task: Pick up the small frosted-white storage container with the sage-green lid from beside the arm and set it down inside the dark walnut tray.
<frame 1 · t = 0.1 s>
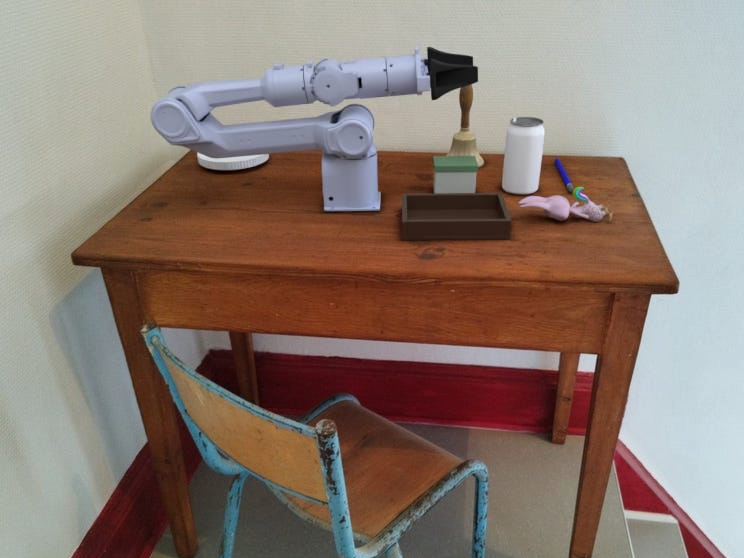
hand: (475, 68, 102), 22 cm above the table, tool horizontal, fingers open, 7 cm apart
rabbit figure: (563, 221, 107), on the table
plastic lid: (234, 164, 133), on the table
container: (453, 194, 117), on the table
pencil: (562, 177, 124), on the table
tray: (453, 224, 106), on the table
hand bell: (462, 163, 131), on the table
can: (519, 190, 119), on the table
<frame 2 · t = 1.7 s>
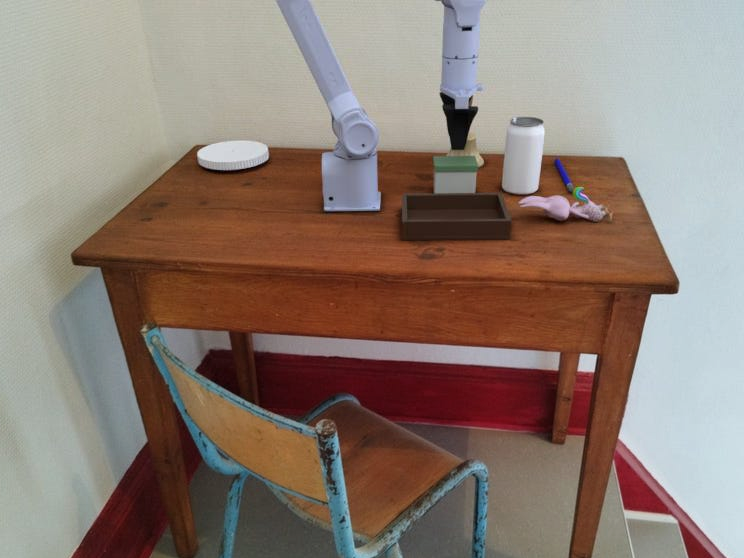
hand: (456, 142, 112), 9 cm above the table, tool pointing down, fingers open, 7 cm apart
nothing on the table moved.
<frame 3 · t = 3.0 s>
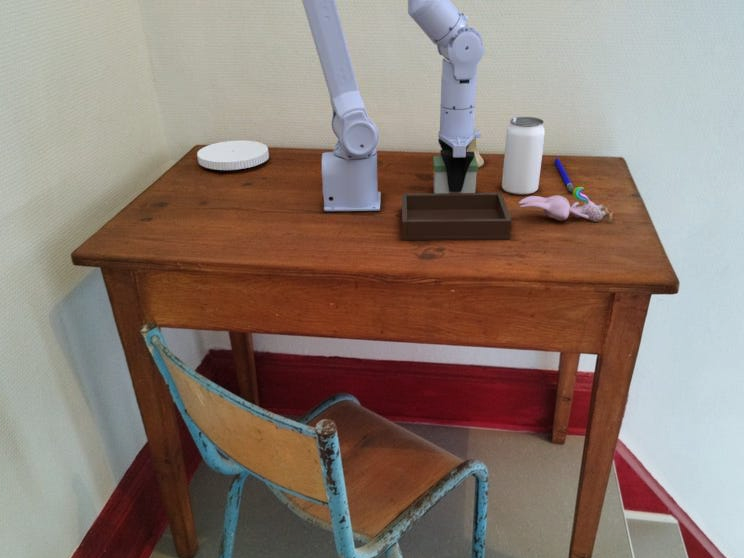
hand: (454, 185, 117), 2 cm above the table, tool pointing down, fingers closed on container, 5 cm apart
container: (453, 194, 118), on the table, touching gripper
everything else where it was.
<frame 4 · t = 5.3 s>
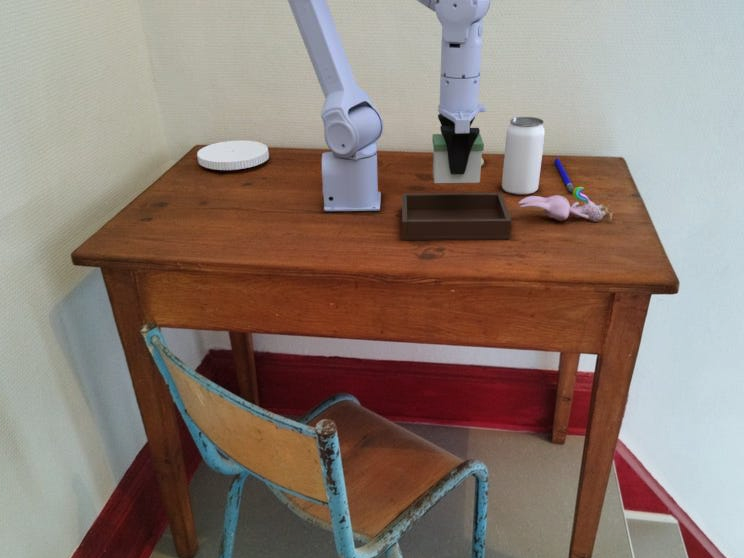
hand: (456, 167, 103), 9 cm above the table, tool pointing down, fingers closed on container, 5 cm apart
container: (455, 177, 104), point 7 cm above the table, touching gripper
everything else where it was.
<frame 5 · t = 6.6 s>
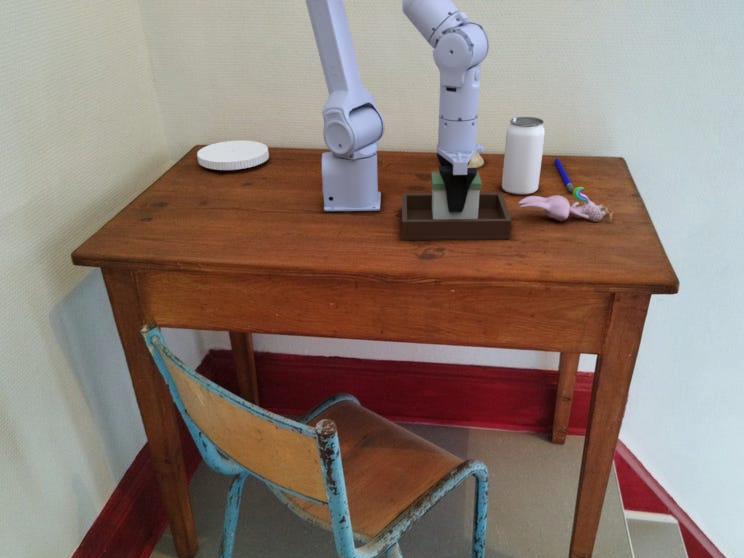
hand: (454, 204, 104), 3 cm above the table, tool pointing down, fingers closed on container, 5 cm apart
container: (454, 214, 105), point 2 cm above the table, touching gripper
everything else where it was.
when the fingers open (2 cm above the table, at t = 7.5 s): container stays where it is, resting on tray.
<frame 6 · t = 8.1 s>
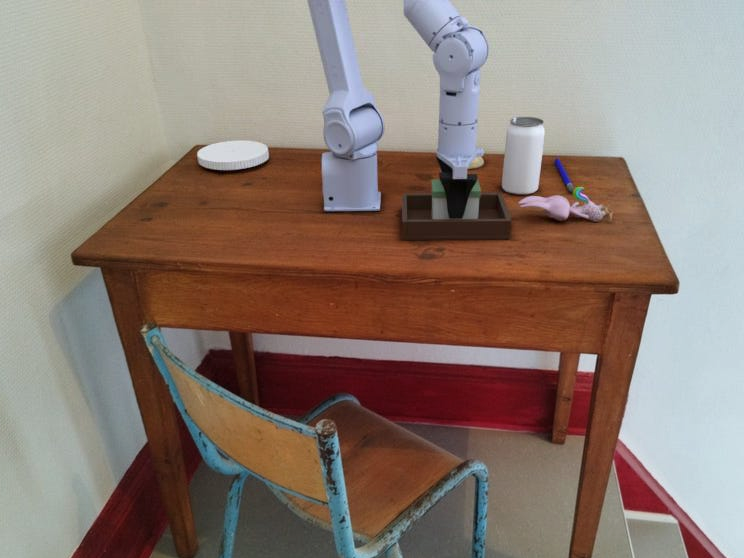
hand: (454, 208, 105), 3 cm above the table, tool pointing down, fingers open, 7 cm apart
container: (453, 221, 106), point 1 cm above the table, touching tray
everything else where it was.
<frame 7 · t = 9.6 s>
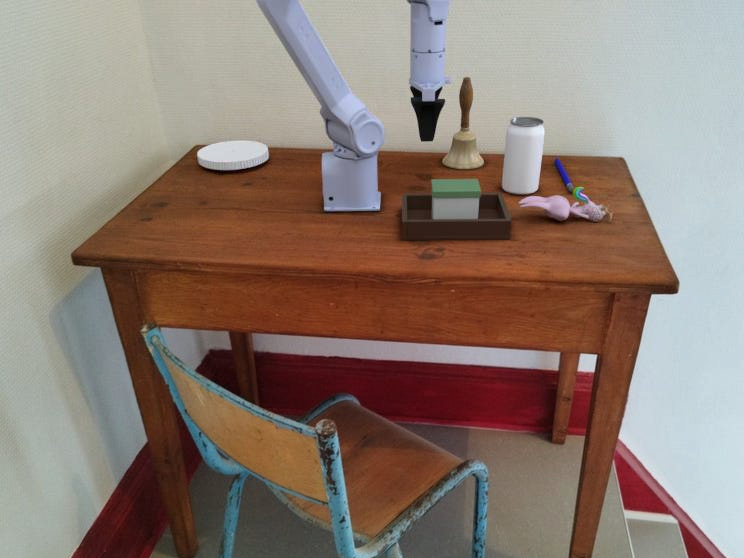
hand: (426, 134, 115), 9 cm above the table, tool pointing down, fingers open, 7 cm apart
nothing on the table moved.
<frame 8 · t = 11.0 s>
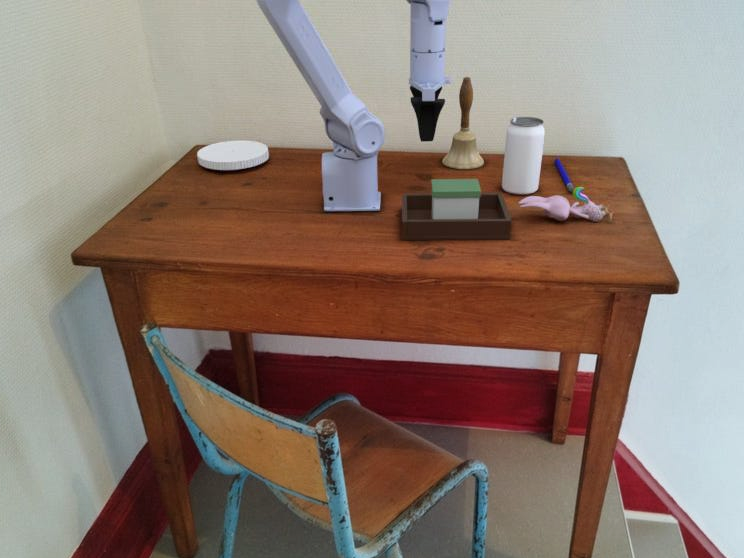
hand: (426, 134, 115), 9 cm above the table, tool pointing down, fingers open, 7 cm apart
nothing on the table moved.
at the end: container inside the target area in the tray (0.1 cm from its centre), point 0.6 cm above the tray's base; container tilted 0°; the gripper is holding nothing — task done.
